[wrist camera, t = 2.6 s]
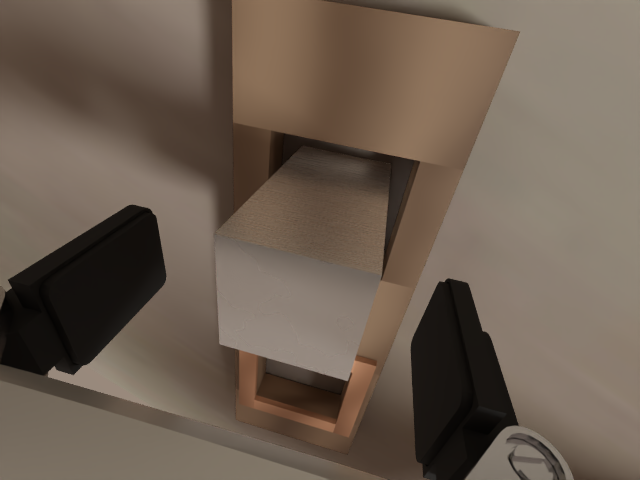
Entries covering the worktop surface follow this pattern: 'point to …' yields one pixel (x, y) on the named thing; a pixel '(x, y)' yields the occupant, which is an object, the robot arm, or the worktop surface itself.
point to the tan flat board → (364, 133)
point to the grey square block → (304, 261)
